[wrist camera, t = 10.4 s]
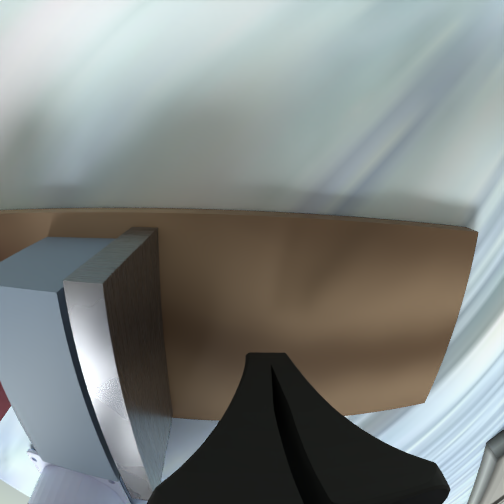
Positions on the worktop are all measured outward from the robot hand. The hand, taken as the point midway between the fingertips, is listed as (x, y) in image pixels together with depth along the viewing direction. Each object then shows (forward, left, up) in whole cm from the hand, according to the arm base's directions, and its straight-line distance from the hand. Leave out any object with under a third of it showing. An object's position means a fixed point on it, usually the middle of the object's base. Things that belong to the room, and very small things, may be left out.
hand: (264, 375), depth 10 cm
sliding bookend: (0, +4, -2) cm, 5 cm away
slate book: (0, +7, -2) cm, 7 cm away
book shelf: (0, +5, -3) cm, 6 cm away
